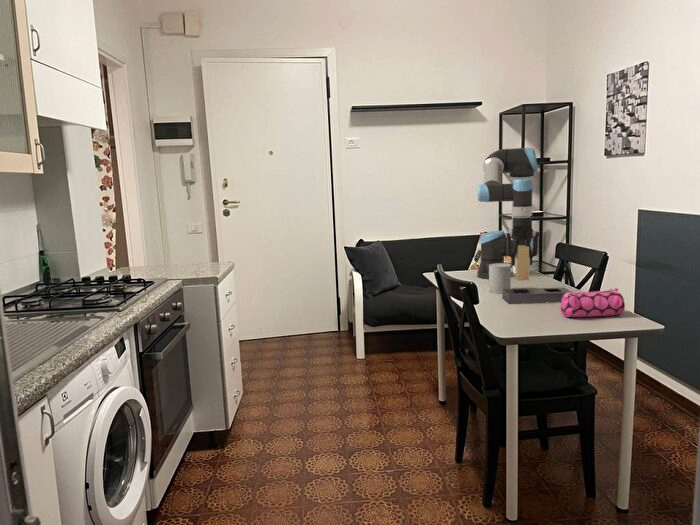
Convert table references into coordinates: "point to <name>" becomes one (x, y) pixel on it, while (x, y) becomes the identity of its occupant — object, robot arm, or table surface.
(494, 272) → the gray cylinder
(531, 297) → the gray slotted block
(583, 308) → the pencil case
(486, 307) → the table surface
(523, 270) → the brass peg
